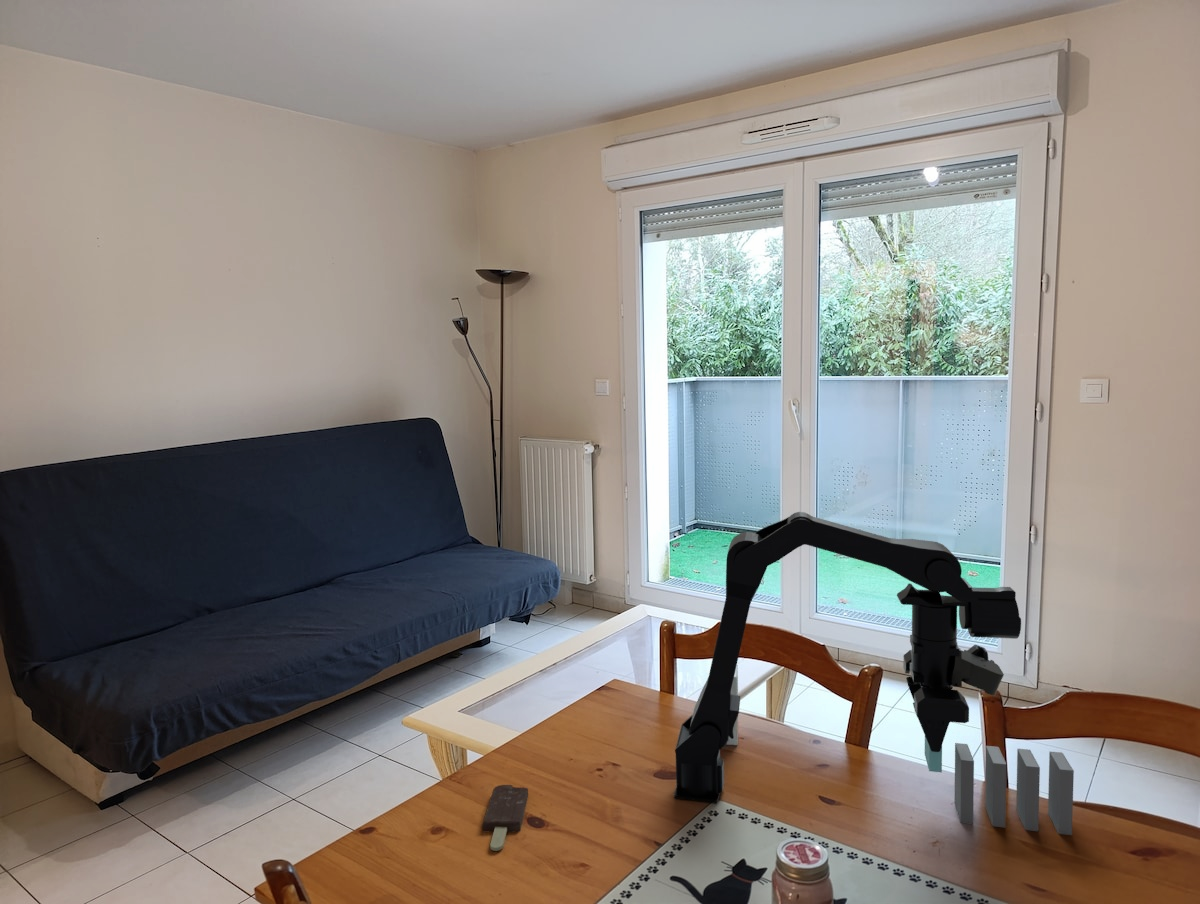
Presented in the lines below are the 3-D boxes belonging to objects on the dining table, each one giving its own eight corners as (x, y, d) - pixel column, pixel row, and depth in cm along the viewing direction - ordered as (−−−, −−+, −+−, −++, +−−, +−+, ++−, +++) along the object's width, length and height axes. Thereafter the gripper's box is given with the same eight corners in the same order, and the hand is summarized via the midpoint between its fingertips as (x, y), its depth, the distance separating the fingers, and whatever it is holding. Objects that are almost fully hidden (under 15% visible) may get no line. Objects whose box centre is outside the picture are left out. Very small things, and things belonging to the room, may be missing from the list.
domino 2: (992, 826, 106) (993, 763, 105) (984, 806, 110) (985, 745, 110) (1005, 827, 105) (1006, 764, 104) (997, 807, 110) (998, 746, 109)
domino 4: (1058, 833, 103) (1060, 769, 103) (1048, 813, 108) (1049, 751, 107) (1072, 835, 103) (1073, 770, 102) (1060, 814, 108) (1062, 752, 107)
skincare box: (738, 746, 131) (737, 677, 129) (712, 744, 131) (711, 676, 130) (739, 729, 136) (738, 663, 135) (714, 728, 137) (713, 662, 136)
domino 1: (960, 822, 107) (961, 759, 106) (954, 802, 112) (955, 742, 111) (973, 823, 106) (973, 761, 105) (966, 804, 111) (967, 744, 110)
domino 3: (1025, 829, 105) (1026, 766, 104) (1016, 809, 109) (1017, 748, 108) (1038, 831, 104) (1039, 767, 103) (1028, 811, 109) (1030, 749, 108)
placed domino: (929, 771, 107) (929, 708, 106) (924, 753, 112) (925, 693, 111) (941, 772, 107) (942, 709, 106) (936, 755, 112) (937, 694, 111)
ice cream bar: (515, 854, 104) (529, 794, 119) (514, 843, 103) (528, 783, 118) (476, 855, 104) (494, 794, 119) (475, 843, 104) (494, 784, 119)
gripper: (1014, 663, 96) (1011, 783, 98) (984, 616, 114) (982, 718, 116) (918, 657, 99) (916, 773, 101) (903, 612, 117) (902, 712, 119)
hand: (932, 742), depth 109 cm, fingers closed on placed domino, 5 cm apart
